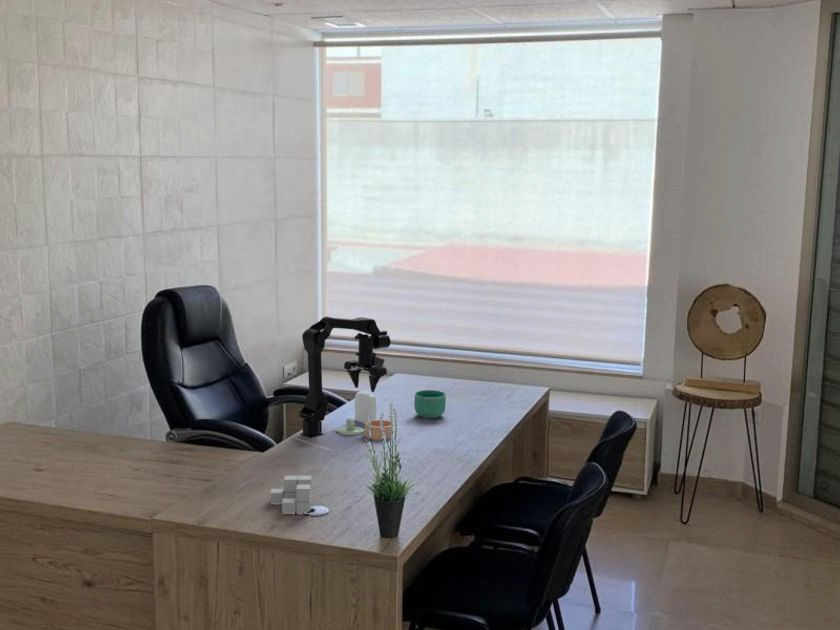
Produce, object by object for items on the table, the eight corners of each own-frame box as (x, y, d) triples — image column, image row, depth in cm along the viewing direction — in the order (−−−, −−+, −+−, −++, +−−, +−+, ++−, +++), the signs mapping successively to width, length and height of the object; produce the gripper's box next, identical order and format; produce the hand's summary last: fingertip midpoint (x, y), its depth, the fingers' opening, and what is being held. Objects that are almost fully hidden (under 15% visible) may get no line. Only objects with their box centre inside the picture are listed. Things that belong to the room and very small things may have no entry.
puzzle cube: (271, 501, 283) (270, 475, 282) (311, 500, 284) (311, 475, 283) (267, 515, 272) (267, 489, 270) (309, 515, 272) (309, 488, 271)
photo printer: (353, 420, 375) (353, 390, 373) (362, 419, 378) (362, 388, 376) (368, 426, 367) (369, 395, 365) (377, 424, 370) (378, 393, 368)
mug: (440, 421, 376) (440, 398, 375) (410, 418, 380) (410, 395, 379) (451, 411, 392) (451, 389, 391) (422, 409, 396) (422, 386, 394)
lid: (349, 437, 351) (349, 424, 350) (331, 431, 357) (331, 419, 357) (369, 432, 358) (369, 419, 357) (351, 426, 365) (351, 414, 364)
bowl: (379, 442, 346) (379, 429, 345) (359, 436, 353) (359, 423, 353) (401, 436, 354) (401, 423, 353) (380, 430, 361) (380, 418, 360)
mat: (349, 438, 351) (349, 437, 351) (331, 432, 357) (331, 431, 357) (369, 433, 358) (369, 432, 358) (351, 427, 365) (351, 426, 365)
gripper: (397, 351, 366) (396, 391, 368) (364, 344, 378) (363, 383, 380) (376, 354, 358) (375, 395, 360) (343, 347, 370) (342, 386, 372)
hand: (364, 389), depth 368 cm, fingers open, 9 cm apart
